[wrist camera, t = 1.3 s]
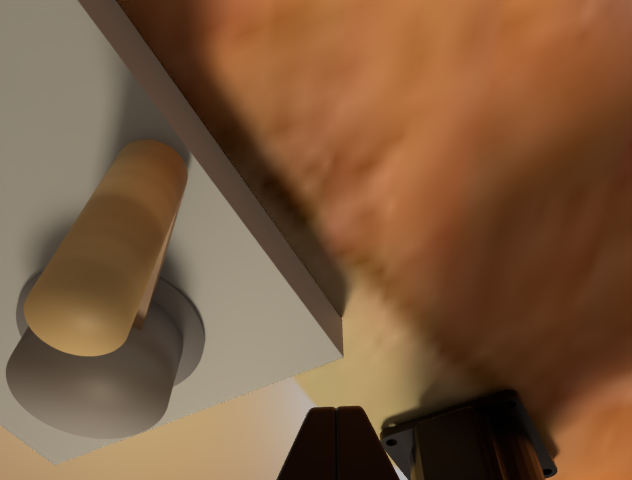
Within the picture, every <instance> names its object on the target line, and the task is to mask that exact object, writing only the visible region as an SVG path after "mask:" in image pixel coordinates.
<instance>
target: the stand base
mask: <svg viewBox="0 0 632 480" xmlns="http://www.w3.org/2000/svg"><path fill="white" fill-rule="evenodd" d="M142 139H149V140H155V141H159V142H162V143H164V144H166V145H168V146H169V147H171V148H172V149H174V150H175V151H176V152H177V153H178V154H179V155H180V157H181V158H182V159H183V161H184V163H185V165H186V168H187V173H188V180H187V184H186V188H185V191H184V195H183V198H182V201H181V205H180V208H179V212H178V215H177V218H176V222H175V225H174V229H173V232H172V235H171V239H170V242H169V246H168V249H167V252H166V256H165V259H164V263H163V266H162V269H161V273H160V276H159V280H158V283H157V286H156V290H155V293H154V297H153V300H152V301H153V302H155V303H156V304H158V305H159V306H160V307H161V308H162V309H164V310H165V311H166V312H167V313H168V315H169V316H170V317H171V318H172V319H173V321H174V322H175V324H176V325H177V327H178V329H179V331H180V334H181V337H182V343H183V350H182V355H181V359H180V363H179V367H178V370H177V374H176V378H175V382H174V385H173V389H172V393H171V396H170V400H169V404H168V408H167V410H166V412H165V414H164V416H163V417H162V418H161V420H160V421H159V422H158V423H157V424H155V425H154V426H153V427H151V428H150V429H148V430H151V429H153V428H156V427H159V426H161V425H164V424H167V423H169V422H172V421H175V420H177V419H180V418H183V417H186V416H188V415H191V414H194V413H196V412H199V411H202V410H204V409H207V408H209V407H212V406H215V405H217V404H220V403H223V402H225V401H228V400H231V399H234V398H236V397H239V396H242V395H244V394H247V393H250V392H252V391H255V390H258V389H260V388H263V387H266V386H268V385H271V384H274V383H276V382H279V381H282V380H284V379H287V378H290V377H293V376H295V375H298V374H301V373H303V372H306V371H309V370H311V369H314V368H317V367H319V366H322V365H325V364H327V363H330V362H333V361H335V360H338V359H341V358H343V333H342V319H341V317H340V316H339V315H338V313H337V312H336V310H335V309H334V308H333V306H332V305H331V303H330V302H329V300H328V299H327V298H326V296H325V295H324V293H323V292H322V291H321V289H320V288H319V286H318V285H317V284H316V282H315V281H314V279H313V278H312V276H311V275H310V274H309V272H308V271H307V269H306V268H305V267H304V265H303V264H302V262H301V261H300V260H299V258H298V257H297V255H296V254H295V253H294V251H293V250H292V248H291V247H290V245H289V244H288V243H287V241H286V240H285V238H284V237H283V236H282V234H281V233H280V231H279V230H278V229H277V227H276V226H275V224H274V223H273V221H272V220H271V219H270V217H269V216H268V214H267V213H266V212H265V210H264V209H263V207H262V206H261V205H260V203H259V202H258V200H257V199H256V197H255V196H254V195H253V193H252V192H251V190H250V189H249V188H248V186H247V185H246V183H245V182H244V181H243V179H242V178H241V176H240V175H239V173H238V172H237V171H236V169H235V168H234V166H233V165H232V164H231V162H230V161H229V159H228V158H227V157H226V155H225V154H224V152H223V151H222V150H221V148H220V147H219V145H218V144H217V142H216V141H215V140H214V138H213V137H212V135H211V134H210V133H209V131H208V130H207V128H206V127H205V126H204V124H203V123H202V121H201V120H200V118H199V117H198V116H197V114H196V113H195V111H194V110H193V109H192V107H191V106H190V104H189V103H188V102H187V100H186V99H185V97H184V96H183V94H182V93H181V92H180V90H179V89H178V87H177V86H176V85H175V83H174V82H173V80H172V79H171V78H170V76H169V75H168V73H167V72H166V70H165V69H164V68H163V66H162V65H161V63H160V62H159V61H158V59H157V58H156V56H155V55H154V54H153V52H152V51H151V49H150V48H149V47H148V45H147V44H146V42H145V41H144V39H143V38H142V37H141V35H140V34H139V32H138V31H137V30H136V28H135V27H134V25H133V24H132V23H131V21H130V20H129V18H128V17H127V15H126V14H125V13H124V11H123V10H122V8H121V7H120V6H119V4H118V3H117V1H116V0H0V425H1V426H2V427H3V428H5V429H6V430H7V431H9V432H10V433H11V434H13V435H14V436H16V437H17V438H18V439H20V440H21V441H22V442H24V443H25V444H27V445H28V446H29V447H30V448H32V449H33V450H35V451H36V452H38V453H39V454H40V455H41V456H43V457H44V458H45V459H47V460H48V461H49V462H51V463H52V464H54V465H57V464H60V463H62V462H65V461H68V460H70V459H73V458H76V457H78V456H81V455H84V454H86V453H89V452H92V451H95V450H97V449H100V448H102V447H105V446H107V445H110V444H113V443H116V442H118V441H121V440H124V439H126V438H129V437H132V436H129V437H124V438H116V439H96V438H88V437H82V436H77V435H73V434H70V433H66V432H64V431H61V430H58V429H56V428H53V427H51V426H49V425H47V424H45V423H43V422H41V421H40V420H38V419H37V418H35V417H34V416H32V415H31V414H30V413H29V412H27V411H26V410H25V409H24V408H23V407H22V406H21V405H20V404H19V403H18V402H17V400H16V399H15V398H14V396H13V395H12V393H11V391H10V389H9V387H8V384H7V380H6V366H7V362H8V360H9V358H10V356H11V354H12V353H13V351H14V349H15V348H16V346H17V344H18V342H19V341H20V339H21V337H22V336H23V334H24V332H25V331H26V329H27V327H28V326H29V325H28V323H27V321H26V319H25V316H24V303H25V300H26V298H27V296H28V295H29V293H30V291H31V290H32V288H33V287H34V285H35V284H36V282H37V280H38V279H39V277H40V276H41V274H42V273H43V271H44V269H45V268H46V266H47V265H48V263H49V262H50V260H51V258H52V257H53V255H54V254H55V252H56V251H57V249H58V247H59V246H60V244H61V243H62V241H63V240H64V238H65V237H66V235H67V233H68V232H69V230H70V229H71V227H72V226H73V224H74V222H75V221H76V219H77V218H78V216H79V215H80V213H81V211H82V210H83V208H84V207H85V205H86V204H87V202H88V200H89V199H90V197H91V196H92V194H93V193H94V191H95V189H96V188H97V186H98V185H99V183H100V182H101V180H102V178H103V177H104V175H105V174H106V172H107V171H108V169H109V167H110V166H111V164H112V163H113V161H114V160H115V158H116V157H117V155H118V153H119V152H120V151H121V149H122V148H123V147H124V146H126V145H127V144H129V143H131V142H133V141H136V140H142ZM148 430H146V431H148ZM144 432H145V431H144ZM142 433H143V432H142ZM139 434H140V433H139ZM136 435H137V434H136ZM133 436H135V435H133Z"/></svg>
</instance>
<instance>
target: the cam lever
mask: <svg viewBox="0 0 632 480" xmlns="http://www.w3.org/2000/svg"><path fill="white" fill-rule="evenodd" d="M187 180H188V173H187V168H186V165H185V163H184V161H183V159H182V158H181V157H180V155H179V154H178V153H177V152H176V151H175V150H174V149H172V148H171V147H169V146H168V145H166V144H164V143H162V142H159V141H155V140H149V139H142V140H136V141H133V142H131V143H129V144H127V145H126V146H124V147H123V148H122V149H121V151H120V152H119V153H118V155H117V157H116V158H115V160H114V161H113V163H112V164H111V166H110V167H109V169H108V171H107V172H106V174H105V175H104V177H103V178H102V180H101V182H100V183H99V185H98V186H97V188H96V189H95V191H94V193H93V194H92V196H91V197H90V199H89V200H88V202H87V204H86V205H85V207H84V208H83V210H82V211H81V213H80V215H79V216H78V218H77V219H76V221H75V222H74V224H73V226H72V227H71V229H70V230H69V232H68V233H67V235H66V237H65V238H64V240H63V241H62V243H61V244H60V246H59V247H58V249H57V251H56V252H55V254H54V255H53V257H52V258H51V260H50V262H49V263H48V265H47V266H46V268H45V269H44V271H43V273H42V274H41V276H40V277H39V279H38V280H37V282H36V284H35V285H34V287H33V288H32V290H31V291H30V293H29V295H28V296H27V298H26V300H25V303H24V316H25V319H26V321H27V323H28V325H29V326H28V327H27V329H26V331H25V332H24V334H23V336H22V337H21V339H20V341H19V342H18V344H17V346H16V348H15V349H14V351H13V353H12V354H11V356H10V358H9V360H8V362H7V366H6V380H7V384H8V387H9V389H10V391H11V393H12V395H13V396H14V398H15V399H16V400H17V402H18V403H19V404H20V405H21V406H22V407H23V408H24V409H25V410H26V411H27V412H29V413H30V414H31V415H32V416H34V417H35V418H37V419H38V420H40V421H41V422H43V423H45V424H47V425H49V426H51V427H53V428H56V429H58V430H61V431H64V432H66V433H70V434H73V435H77V436H82V437H88V438H96V439H116V438H124V437H129V436H133V435H136V434H139V433H142V432H144V431H146V430H148V429H150V428H151V427H153V426H154V425H155V424H157V423H158V422H159V421H160V420H161V418H162V417H163V416H164V414H165V412H166V410H167V408H168V404H169V400H170V396H171V393H172V389H173V385H174V382H175V378H176V374H177V370H178V367H179V363H180V359H181V355H182V350H183V343H182V337H181V334H180V331H179V329H178V327H177V325H176V324H175V322H174V321H173V319H172V318H171V317H170V316H169V315H168V313H167V312H166V311H165V310H164V309H162V308H161V307H160V306H159V305H158V304H156V303H155V302H153V301H152V300H153V297H154V293H155V290H156V286H157V283H158V280H159V276H160V273H161V269H162V266H163V263H164V259H165V256H166V252H167V249H168V246H169V242H170V239H171V235H172V232H173V229H174V225H175V222H176V218H177V215H178V212H179V208H180V205H181V201H182V198H183V195H184V191H185V188H186V184H187Z"/></svg>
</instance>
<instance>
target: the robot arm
mask: <svg viewBox="0 0 632 480" xmlns="http://www.w3.org/2000/svg"><path fill="white" fill-rule="evenodd" d="M385 451H386V452H387V453H388V455H389V456H390V457H391V458H392V460H393V461H394V462H395V463H396V465H397V466H398V467H399V469H400V470H401V471H402V472H403V474H404V475H405V476H406V477H407V479H408V480H545V478H549V477H552V476H554V475H555V474H556V473H557V467H556V465H555V462H554V460H553V458H552V456H551V454H550V452H549V450H548V448H547V447H546V445H545V443H544V441H543V439H542V437H541V435H540V433H539V431H538V429H537V427H536V426H535V424H534V422H533V420H532V418H531V416H530V414H529V412H528V410H527V408H526V406H525V404H524V403H523V401H522V399H521V397H520V395H519V393H518V392H517V391H514V390H504V391H501V392H498V393H495V394H492V395H489V396H486V397H483V398H480V399H476V400H473V401H470V402H467V403H464V404H461V405H458V406H455V407H452V408H449V409H446V410H443V411H440V412H437V413H434V414H431V415H427V416H424V417H421V418H418V419H415V420H412V421H409V422H406V423H403V424H400V425H397V426H394V427H391V428H388V429H385V430H383V431H382V432H381V433H380V440H379V438H378V436H377V434H376V432H375V430H374V428H373V427H372V425H371V423H370V421H369V419H368V417H367V415H366V413H365V411H364V410H363V408H362V407H360V406H340V407H338V408H334V407H314V408H311V409H310V410H309V412H308V413H307V415H306V418H305V419H304V421H303V424H302V426H301V428H300V430H299V432H298V434H297V437H296V439H295V441H294V443H293V445H292V447H291V450H290V452H289V454H288V456H287V458H286V460H285V463H284V465H283V467H282V469H281V471H280V473H279V476H278V478H277V480H400V479H399V477H398V475H397V473H396V471H395V469H394V467H393V465H392V463H391V462H390V460H389V458H388V456H387V454H386V452H385Z"/></svg>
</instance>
